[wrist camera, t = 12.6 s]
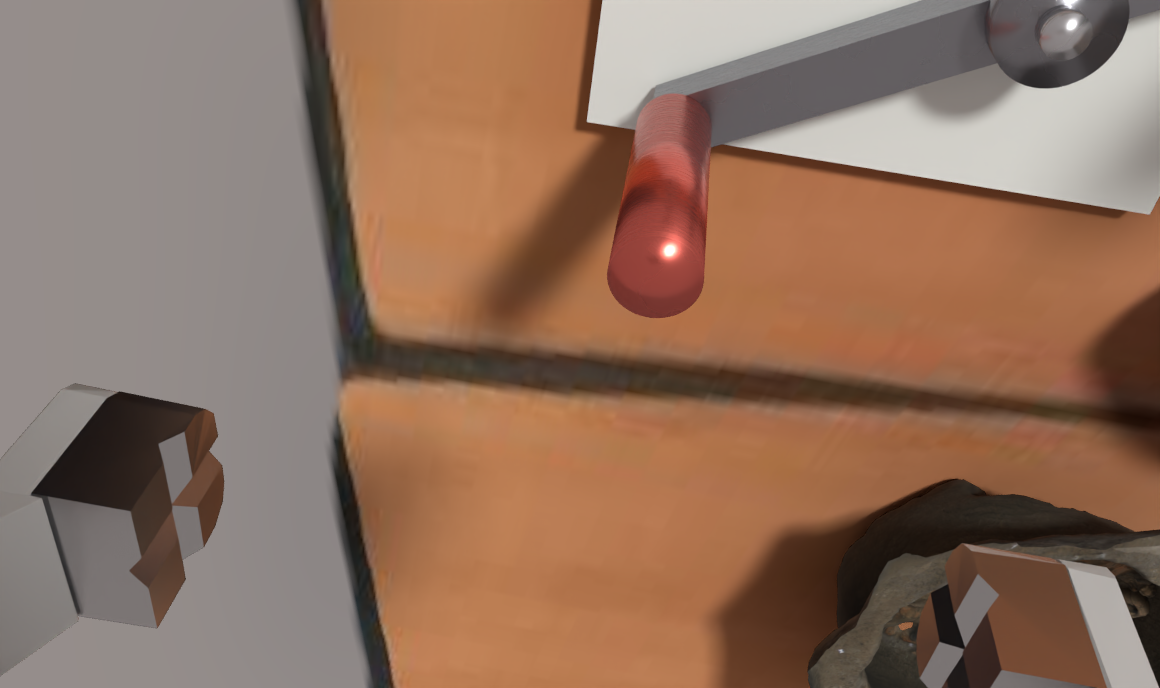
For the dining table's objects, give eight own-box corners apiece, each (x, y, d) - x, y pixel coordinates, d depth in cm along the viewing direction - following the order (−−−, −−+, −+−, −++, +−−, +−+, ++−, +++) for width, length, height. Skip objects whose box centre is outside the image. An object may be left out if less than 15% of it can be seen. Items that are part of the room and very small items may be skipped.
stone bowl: (765, 440, 53) (784, 572, 46) (1272, 387, 49) (1385, 522, 42) (794, 718, 67) (813, 854, 59) (1192, 693, 63) (1267, 835, 56)
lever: (1215, -124, 34) (1427, -3, 23) (1219, -1, 36) (1413, 159, 26) (624, 70, 41) (585, 231, 30) (659, 164, 43) (633, 344, 32)
